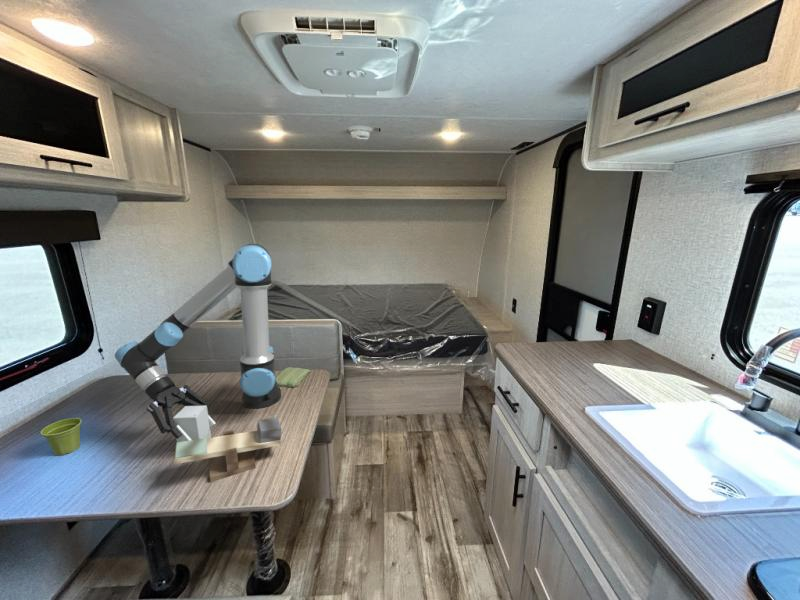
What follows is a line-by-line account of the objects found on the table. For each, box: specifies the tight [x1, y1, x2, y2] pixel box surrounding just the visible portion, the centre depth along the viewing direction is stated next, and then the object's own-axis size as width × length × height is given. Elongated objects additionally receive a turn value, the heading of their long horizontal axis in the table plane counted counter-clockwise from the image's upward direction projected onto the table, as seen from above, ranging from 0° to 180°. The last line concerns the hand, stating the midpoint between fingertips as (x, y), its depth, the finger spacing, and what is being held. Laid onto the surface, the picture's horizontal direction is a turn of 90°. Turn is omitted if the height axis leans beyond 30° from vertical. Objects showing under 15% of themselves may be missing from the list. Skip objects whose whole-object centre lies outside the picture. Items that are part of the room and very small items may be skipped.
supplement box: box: [173, 405, 212, 443], centre depth 112 cm, size 7×7×13 cm
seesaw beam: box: [173, 416, 283, 465], centre depth 103 cm, size 28×8×6 cm, turn 120°
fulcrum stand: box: [208, 429, 256, 483], centre depth 104 cm, size 12×11×8 cm
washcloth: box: [275, 366, 311, 389], centre depth 161 cm, size 13×18×3 cm
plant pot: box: [40, 417, 83, 456], centre depth 110 cm, size 9×9×9 cm
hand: (201, 434), depth 111 cm, fingers closed on supplement box, 9 cm apart
